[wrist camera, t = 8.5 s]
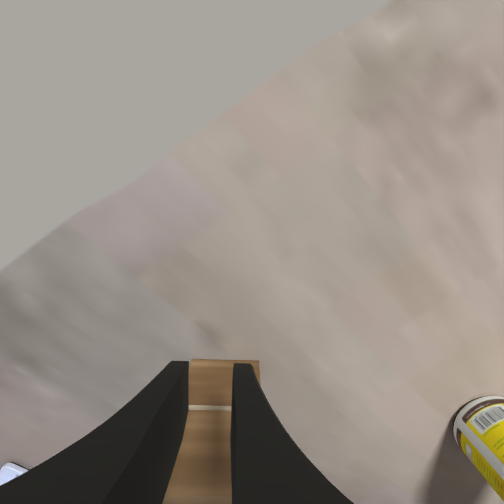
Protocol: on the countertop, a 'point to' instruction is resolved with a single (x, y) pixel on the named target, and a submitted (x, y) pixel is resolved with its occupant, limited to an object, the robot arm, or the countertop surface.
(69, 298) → the countertop surface
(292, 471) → the robot arm
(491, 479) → the supplement bottle
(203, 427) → the walnut domino
